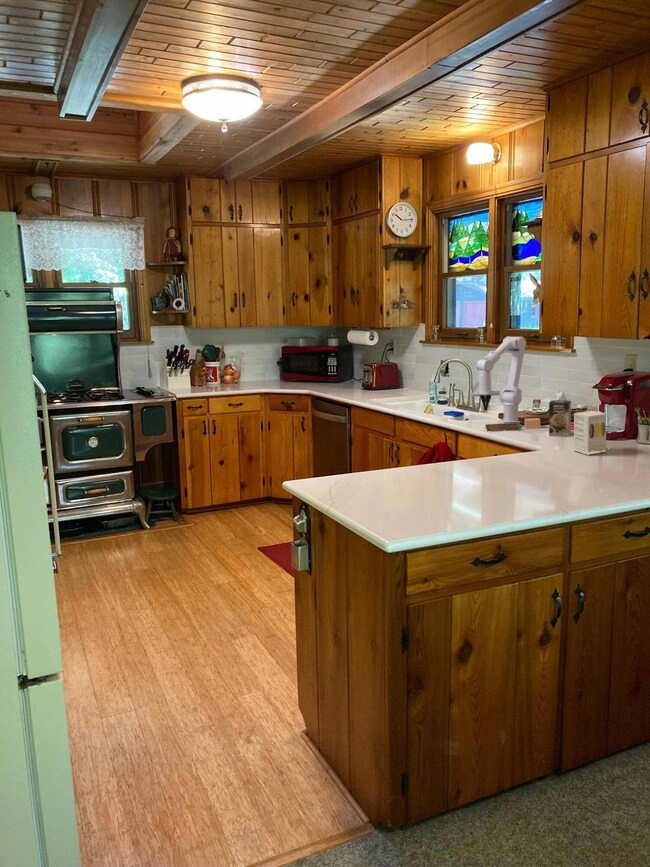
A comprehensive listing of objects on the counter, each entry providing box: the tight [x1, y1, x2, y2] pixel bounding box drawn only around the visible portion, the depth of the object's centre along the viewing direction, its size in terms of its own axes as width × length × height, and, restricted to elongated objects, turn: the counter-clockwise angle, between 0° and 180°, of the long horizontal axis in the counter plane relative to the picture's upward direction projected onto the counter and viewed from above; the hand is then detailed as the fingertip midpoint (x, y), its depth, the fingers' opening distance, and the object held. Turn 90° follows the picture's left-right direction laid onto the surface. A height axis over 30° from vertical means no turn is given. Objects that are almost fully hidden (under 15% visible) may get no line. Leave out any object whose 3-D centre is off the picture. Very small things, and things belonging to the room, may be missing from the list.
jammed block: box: [524, 417, 541, 430], centre depth 347 cm, size 4×7×4 cm, turn 82°
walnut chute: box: [485, 421, 523, 432], centre depth 349 cm, size 8×17×3 cm, turn 82°
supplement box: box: [573, 410, 607, 452], centre depth 293 cm, size 10×9×17 cm
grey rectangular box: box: [548, 399, 572, 438], centre depth 327 cm, size 9×6×16 cm
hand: (485, 410), depth 353 cm, fingers closed
